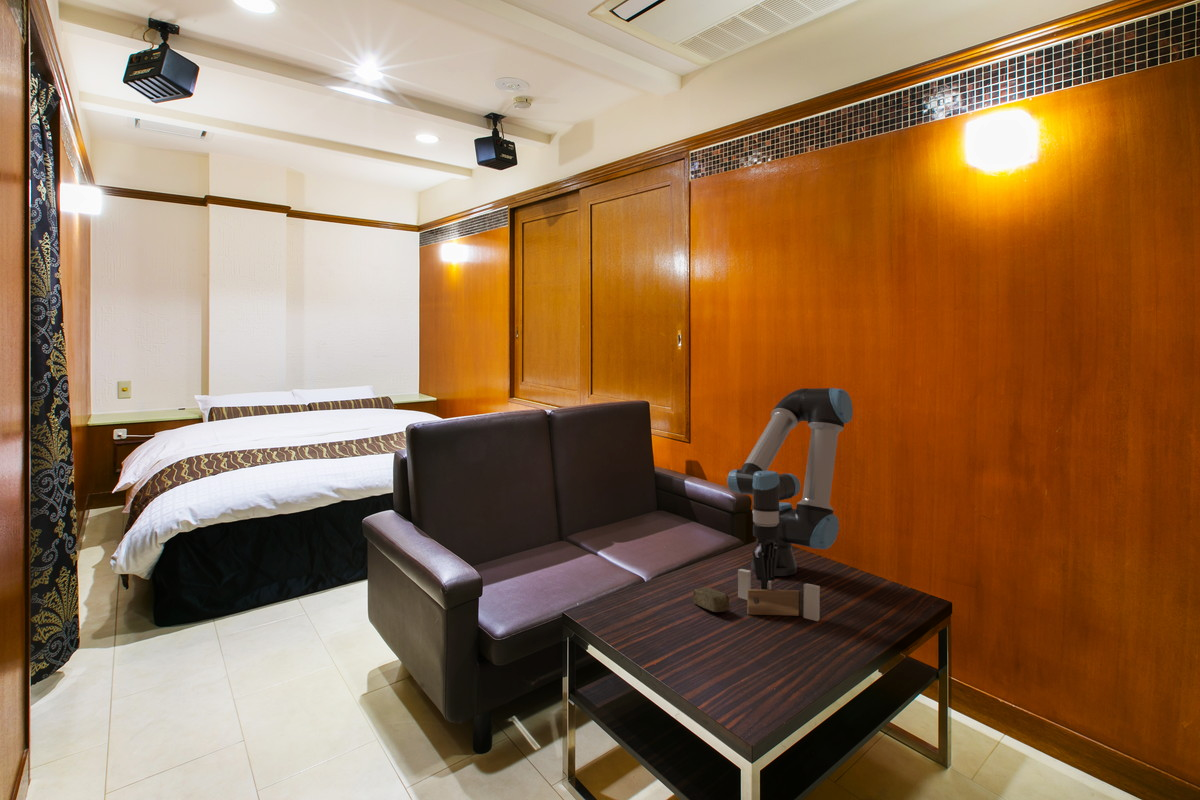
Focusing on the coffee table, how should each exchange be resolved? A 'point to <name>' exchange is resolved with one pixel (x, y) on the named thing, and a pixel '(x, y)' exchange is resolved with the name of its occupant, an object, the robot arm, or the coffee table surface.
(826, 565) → the coffee table surface
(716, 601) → the stone block
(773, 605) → the door
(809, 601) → the wall frame
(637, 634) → the coffee table surface
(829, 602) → the coffee table surface
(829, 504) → the robot arm
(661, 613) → the coffee table surface
